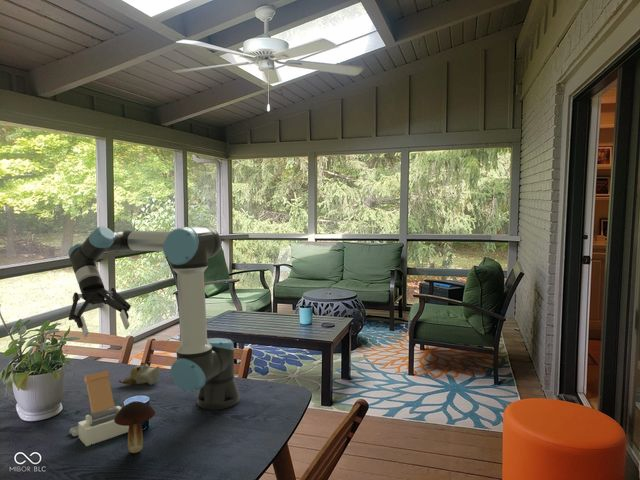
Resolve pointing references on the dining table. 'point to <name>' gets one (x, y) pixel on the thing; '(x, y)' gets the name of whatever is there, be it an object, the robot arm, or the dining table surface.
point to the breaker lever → (100, 394)
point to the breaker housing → (98, 429)
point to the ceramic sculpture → (142, 375)
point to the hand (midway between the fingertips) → (107, 331)
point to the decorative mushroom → (134, 422)
